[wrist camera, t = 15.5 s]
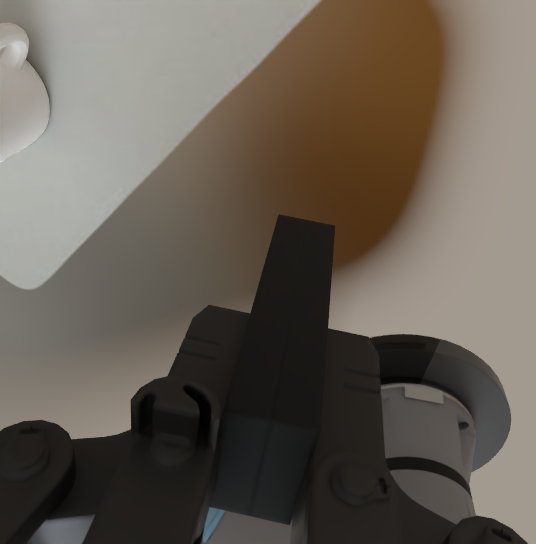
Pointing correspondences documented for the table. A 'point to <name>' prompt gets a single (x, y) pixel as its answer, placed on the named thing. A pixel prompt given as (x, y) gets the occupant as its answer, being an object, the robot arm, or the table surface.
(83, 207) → the table surface
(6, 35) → the mug
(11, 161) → the table surface
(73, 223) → the table surface
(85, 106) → the table surface
